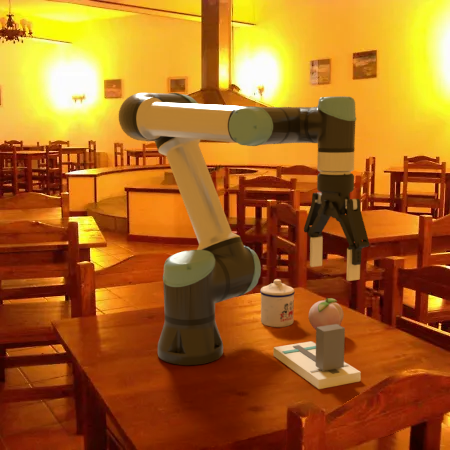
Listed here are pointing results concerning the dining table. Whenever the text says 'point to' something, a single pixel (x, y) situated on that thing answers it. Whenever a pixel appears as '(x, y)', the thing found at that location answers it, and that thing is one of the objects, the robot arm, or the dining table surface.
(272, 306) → the teacup with lid
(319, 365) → the fader tab
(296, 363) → the slider console
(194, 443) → the dining table surface
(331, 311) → the decorative fruit
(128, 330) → the dining table surface
